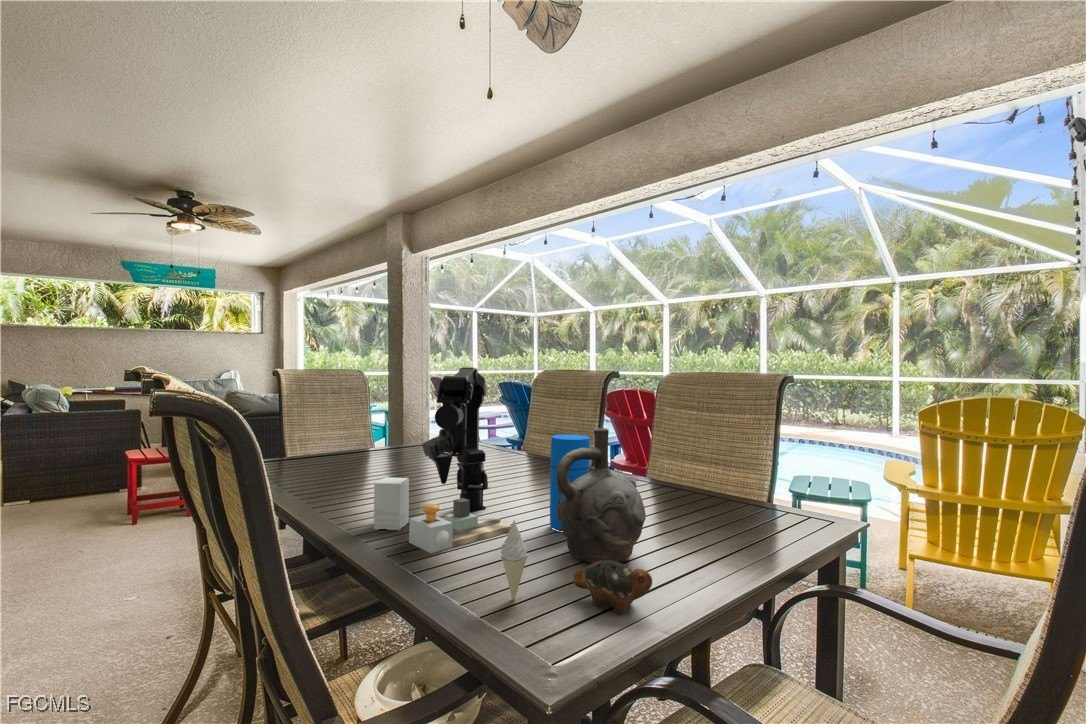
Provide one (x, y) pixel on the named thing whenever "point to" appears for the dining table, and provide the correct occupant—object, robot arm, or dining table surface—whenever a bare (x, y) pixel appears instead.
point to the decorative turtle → (613, 583)
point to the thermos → (576, 470)
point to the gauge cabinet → (430, 534)
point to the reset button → (431, 512)
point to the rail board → (480, 531)
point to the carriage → (462, 515)
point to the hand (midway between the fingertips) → (453, 486)
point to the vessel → (599, 507)
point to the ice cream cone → (513, 558)
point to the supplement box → (391, 503)
